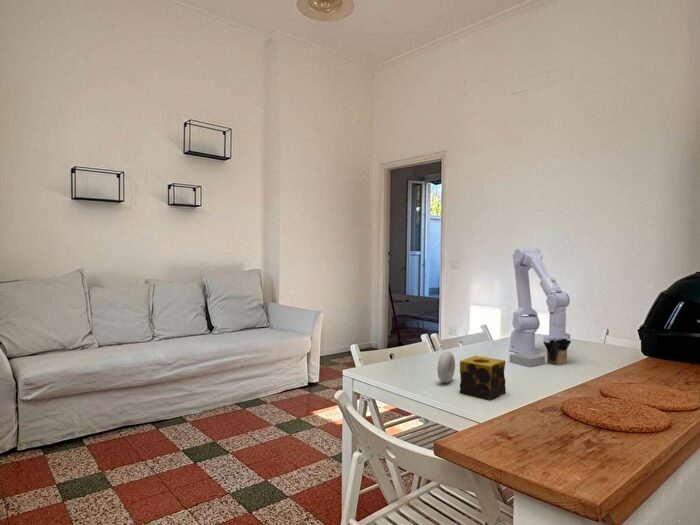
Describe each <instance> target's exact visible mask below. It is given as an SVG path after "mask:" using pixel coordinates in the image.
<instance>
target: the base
mask: <svg viewBox="0 0 700 525" xmlns="http://www.w3.org/2000/svg"><path fill="white" fill-rule="evenodd" d="M545 362H546V357H545V355H541V354H538V353H535V354H532V353H527V352H520V353H517V352H514V353H511V354H509V363H511V364H516V365H519V366H523V367H528V368H533V367H538V366H542V365H545Z"/></svg>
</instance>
